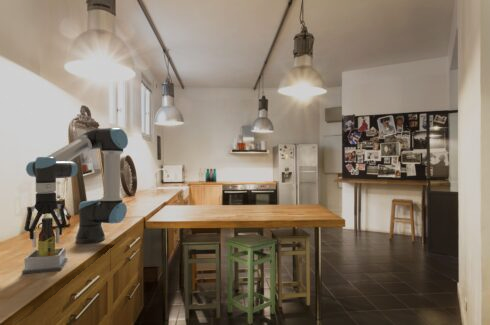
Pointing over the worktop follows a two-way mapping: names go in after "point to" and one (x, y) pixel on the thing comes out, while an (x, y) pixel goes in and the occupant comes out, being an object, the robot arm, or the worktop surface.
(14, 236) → the worktop surface
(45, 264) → the open gray square box
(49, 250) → the sauce bottle
